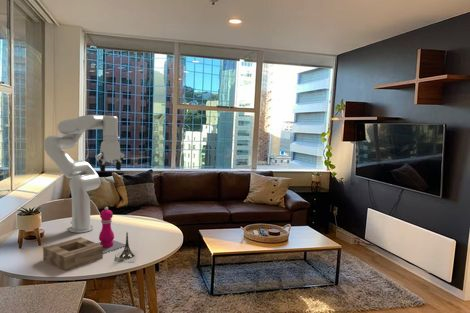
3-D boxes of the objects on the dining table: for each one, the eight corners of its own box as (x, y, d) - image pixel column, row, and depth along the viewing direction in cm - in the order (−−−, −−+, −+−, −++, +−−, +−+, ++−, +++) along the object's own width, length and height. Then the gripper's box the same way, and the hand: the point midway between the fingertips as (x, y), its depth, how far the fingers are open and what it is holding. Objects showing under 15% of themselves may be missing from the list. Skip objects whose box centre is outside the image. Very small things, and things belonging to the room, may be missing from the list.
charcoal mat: (86, 247, 175) (86, 246, 175) (110, 239, 187) (110, 239, 187) (103, 254, 167) (103, 253, 167) (127, 246, 179) (127, 245, 179)
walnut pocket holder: (43, 260, 158) (43, 247, 158) (80, 248, 173) (80, 237, 172) (65, 270, 148) (64, 257, 147) (102, 258, 163) (102, 245, 162)
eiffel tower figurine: (116, 252, 172) (116, 225, 170) (138, 251, 174) (138, 225, 172) (112, 264, 157) (112, 235, 156) (136, 263, 159) (136, 235, 158)
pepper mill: (98, 244, 179) (98, 205, 177) (113, 242, 182) (113, 204, 180) (99, 248, 172) (98, 209, 170) (114, 247, 175) (114, 208, 173)
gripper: (119, 138, 197) (119, 168, 198) (91, 139, 182) (92, 171, 184) (128, 139, 192) (128, 170, 194) (100, 139, 178) (100, 173, 180)
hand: (110, 170), depth 189 cm, fingers open, 9 cm apart
